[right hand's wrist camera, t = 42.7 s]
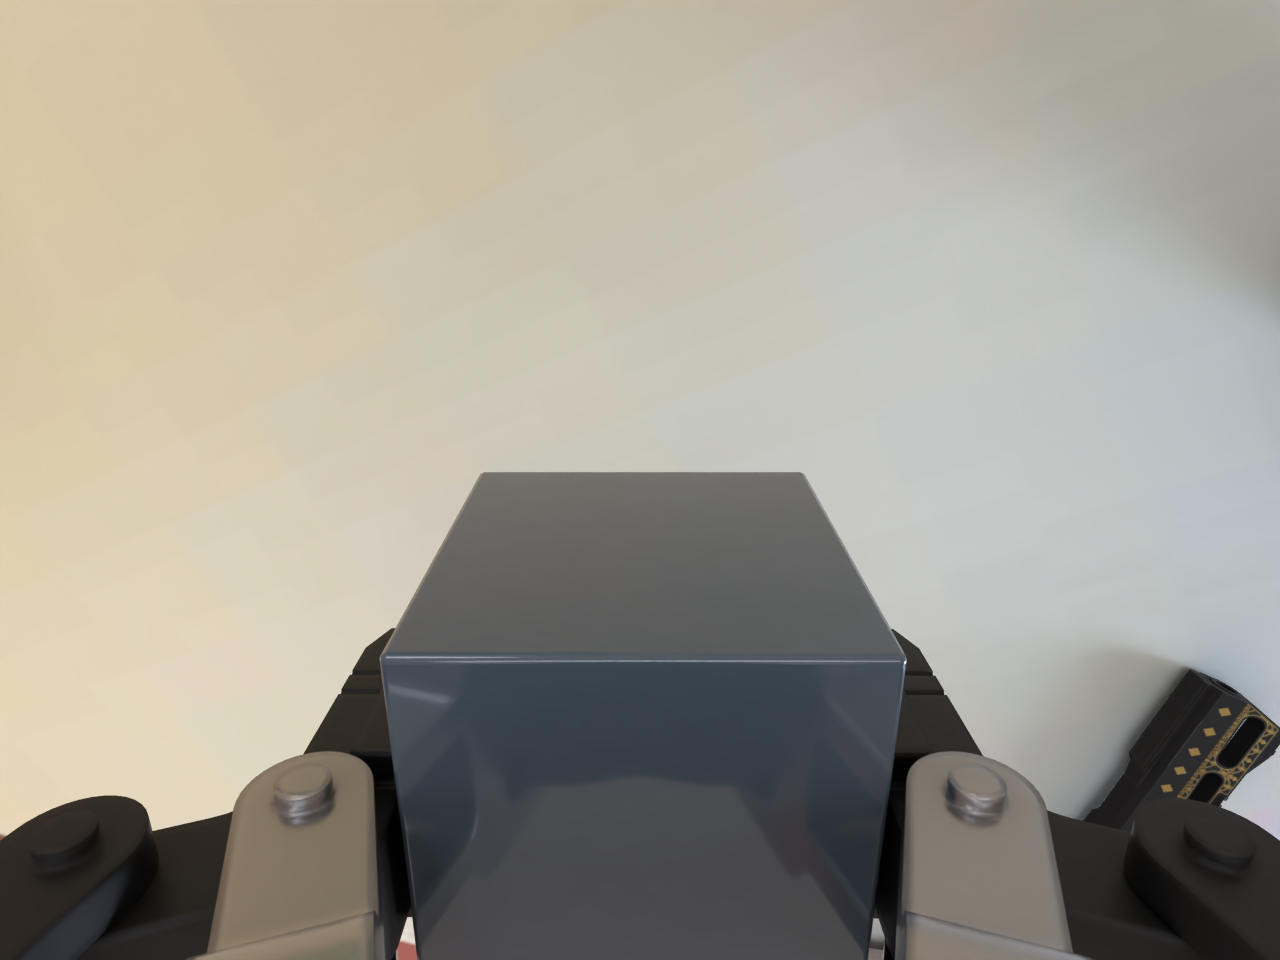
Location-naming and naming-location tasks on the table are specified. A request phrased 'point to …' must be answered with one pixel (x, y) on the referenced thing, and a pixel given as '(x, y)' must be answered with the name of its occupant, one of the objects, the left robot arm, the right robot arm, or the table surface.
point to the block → (642, 724)
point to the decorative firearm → (1188, 753)
